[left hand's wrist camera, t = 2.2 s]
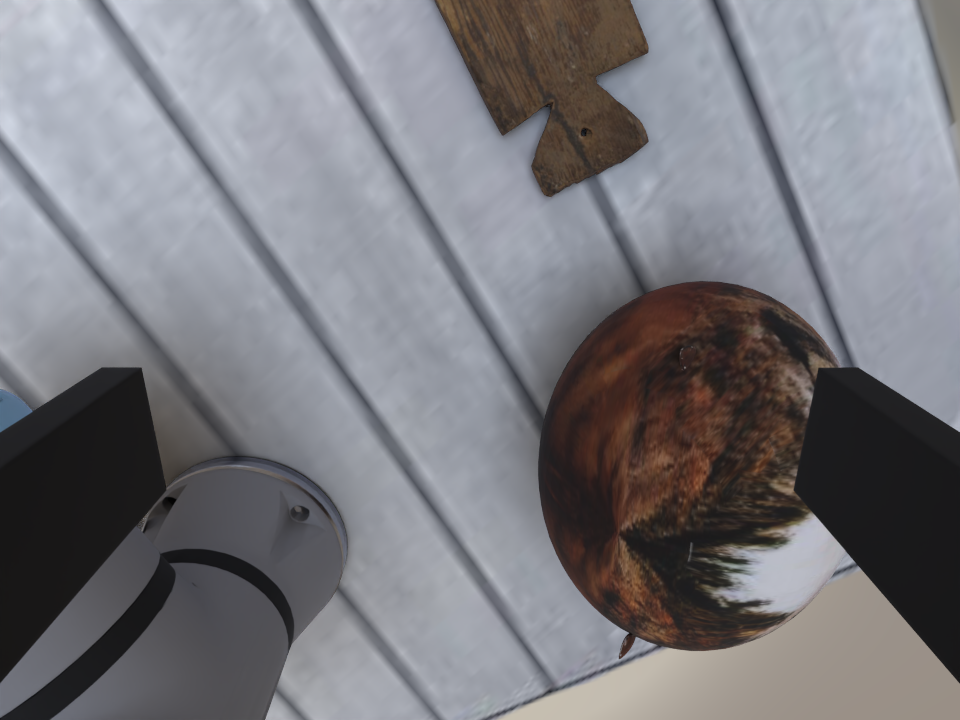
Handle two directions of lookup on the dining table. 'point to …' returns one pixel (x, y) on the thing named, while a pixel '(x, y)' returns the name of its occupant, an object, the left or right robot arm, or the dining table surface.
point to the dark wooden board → (553, 76)
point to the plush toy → (688, 467)
